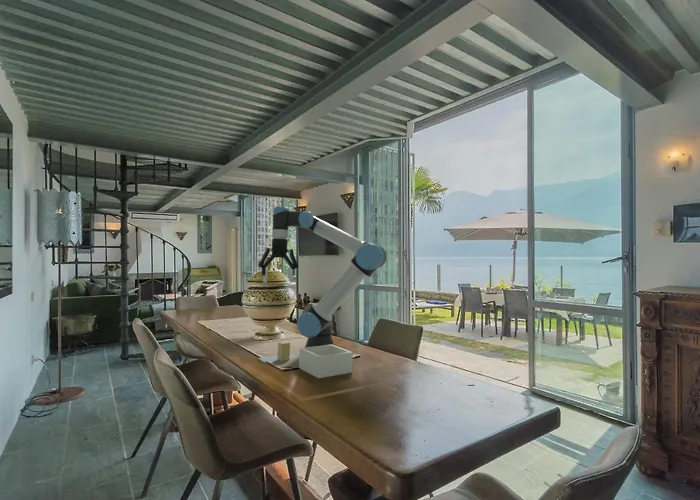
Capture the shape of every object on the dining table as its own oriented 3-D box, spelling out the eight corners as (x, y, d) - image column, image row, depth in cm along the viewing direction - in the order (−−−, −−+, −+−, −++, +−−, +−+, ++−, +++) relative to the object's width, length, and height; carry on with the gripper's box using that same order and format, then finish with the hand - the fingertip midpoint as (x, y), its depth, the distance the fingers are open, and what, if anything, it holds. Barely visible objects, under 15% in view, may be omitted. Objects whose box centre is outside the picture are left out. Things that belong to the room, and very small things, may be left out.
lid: (291, 356, 185) (292, 337, 185) (308, 364, 171) (309, 344, 171) (258, 360, 175) (259, 340, 175) (273, 369, 161) (274, 348, 161)
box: (330, 364, 170) (331, 344, 170) (351, 374, 157) (352, 352, 157) (298, 369, 161) (299, 348, 161) (318, 380, 148) (319, 356, 148)
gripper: (299, 240, 196) (297, 281, 196) (252, 237, 182) (250, 281, 181) (306, 240, 190) (304, 282, 190) (258, 236, 176) (256, 282, 175)
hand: (278, 282), depth 186 cm, fingers open, 13 cm apart
